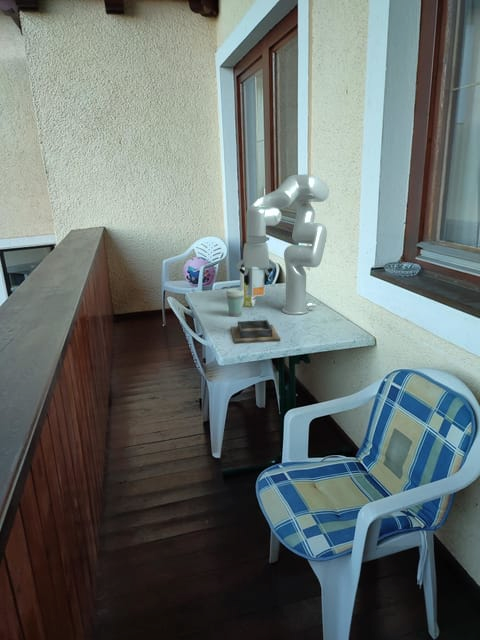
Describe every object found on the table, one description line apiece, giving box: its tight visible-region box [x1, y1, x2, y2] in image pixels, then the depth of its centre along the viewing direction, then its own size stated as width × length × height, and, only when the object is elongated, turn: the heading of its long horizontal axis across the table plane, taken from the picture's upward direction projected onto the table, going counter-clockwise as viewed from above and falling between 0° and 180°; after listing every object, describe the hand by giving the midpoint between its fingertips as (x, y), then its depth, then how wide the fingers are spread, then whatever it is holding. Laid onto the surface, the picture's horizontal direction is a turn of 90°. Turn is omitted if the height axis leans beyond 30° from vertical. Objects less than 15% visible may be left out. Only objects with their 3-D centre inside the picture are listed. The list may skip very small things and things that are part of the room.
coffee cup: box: [225, 288, 244, 318], centre depth 206 cm, size 8×8×12 cm
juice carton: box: [239, 266, 257, 308], centre depth 221 cm, size 8×9×19 cm
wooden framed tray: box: [230, 319, 281, 345], centre depth 181 cm, size 18×18×4 cm
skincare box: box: [247, 267, 266, 298], centre depth 178 cm, size 6×4×12 cm
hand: (255, 284), depth 179 cm, fingers closed on skincare box, 7 cm apart
